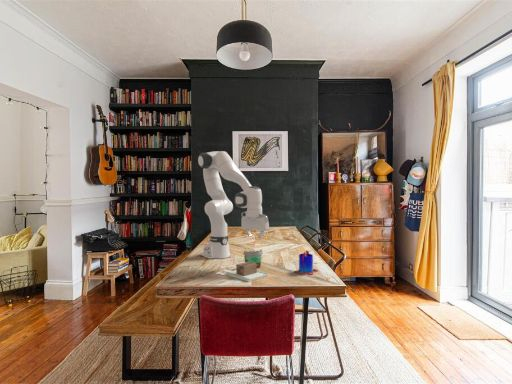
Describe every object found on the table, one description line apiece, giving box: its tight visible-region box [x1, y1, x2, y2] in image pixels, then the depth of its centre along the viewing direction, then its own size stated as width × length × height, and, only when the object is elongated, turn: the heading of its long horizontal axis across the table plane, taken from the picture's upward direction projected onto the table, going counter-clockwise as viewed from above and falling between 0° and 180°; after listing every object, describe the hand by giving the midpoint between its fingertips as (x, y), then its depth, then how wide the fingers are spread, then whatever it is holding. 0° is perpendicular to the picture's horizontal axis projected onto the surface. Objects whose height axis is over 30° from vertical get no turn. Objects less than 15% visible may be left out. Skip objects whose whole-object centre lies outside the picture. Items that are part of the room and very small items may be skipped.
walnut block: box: [235, 261, 258, 276], centre depth 168 cm, size 6×9×5 cm
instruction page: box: [214, 269, 232, 276], centre depth 174 cm, size 6×9×1 cm, turn 144°
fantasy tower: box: [293, 250, 319, 276], centre depth 175 cm, size 12×12×12 cm
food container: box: [242, 249, 263, 269], centre depth 184 cm, size 12×6×10 cm, turn 117°
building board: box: [225, 269, 269, 283], centre depth 168 cm, size 18×14×2 cm
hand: (255, 237), depth 183 cm, fingers open, 8 cm apart
